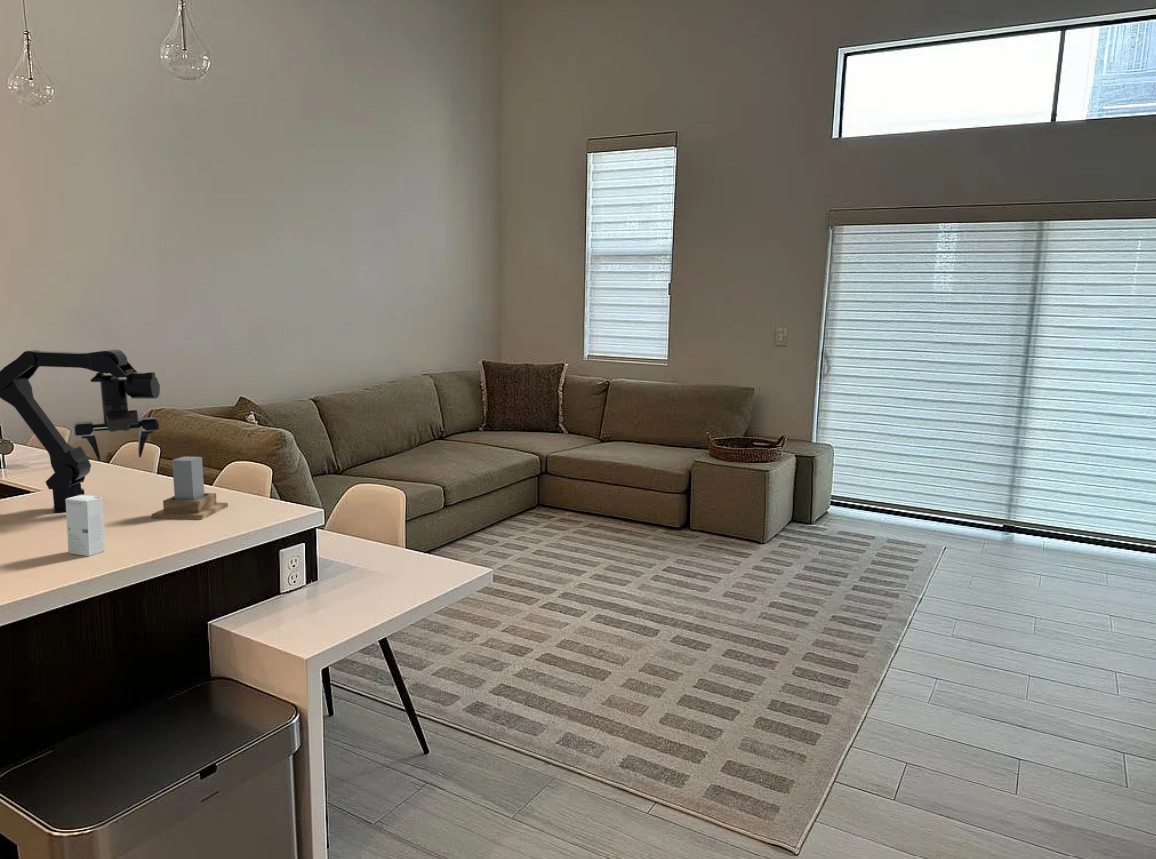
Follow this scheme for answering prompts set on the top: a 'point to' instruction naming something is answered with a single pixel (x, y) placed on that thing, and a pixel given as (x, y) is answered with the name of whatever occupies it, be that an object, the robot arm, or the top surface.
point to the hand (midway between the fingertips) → (119, 458)
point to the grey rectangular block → (188, 478)
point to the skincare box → (85, 525)
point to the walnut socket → (190, 507)
